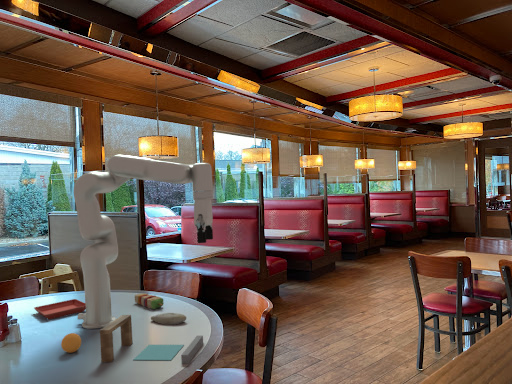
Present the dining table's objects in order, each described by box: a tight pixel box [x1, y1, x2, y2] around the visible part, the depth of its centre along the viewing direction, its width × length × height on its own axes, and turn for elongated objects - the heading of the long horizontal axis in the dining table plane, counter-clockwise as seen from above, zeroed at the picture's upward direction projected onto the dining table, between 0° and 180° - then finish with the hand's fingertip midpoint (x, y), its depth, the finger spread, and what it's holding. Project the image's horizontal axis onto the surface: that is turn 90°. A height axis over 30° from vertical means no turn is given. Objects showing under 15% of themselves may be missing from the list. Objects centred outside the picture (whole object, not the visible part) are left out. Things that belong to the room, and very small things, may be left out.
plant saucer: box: [33, 298, 86, 320], centre depth 184 cm, size 18×18×3 cm
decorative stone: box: [150, 312, 187, 325], centre depth 162 cm, size 6×16×3 cm, turn 74°
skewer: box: [134, 293, 164, 310], centre depth 186 cm, size 21×6×5 cm, turn 44°
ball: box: [60, 332, 82, 354], centre depth 136 cm, size 6×6×6 cm
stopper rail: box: [180, 335, 204, 365], centre depth 130 cm, size 2×16×2 cm, turn 171°
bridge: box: [99, 314, 133, 363], centre depth 133 cm, size 3×15×10 cm, turn 171°
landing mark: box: [133, 344, 185, 362], centre depth 131 cm, size 12×12×1 cm
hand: (205, 241), depth 157 cm, fingers open, 9 cm apart
